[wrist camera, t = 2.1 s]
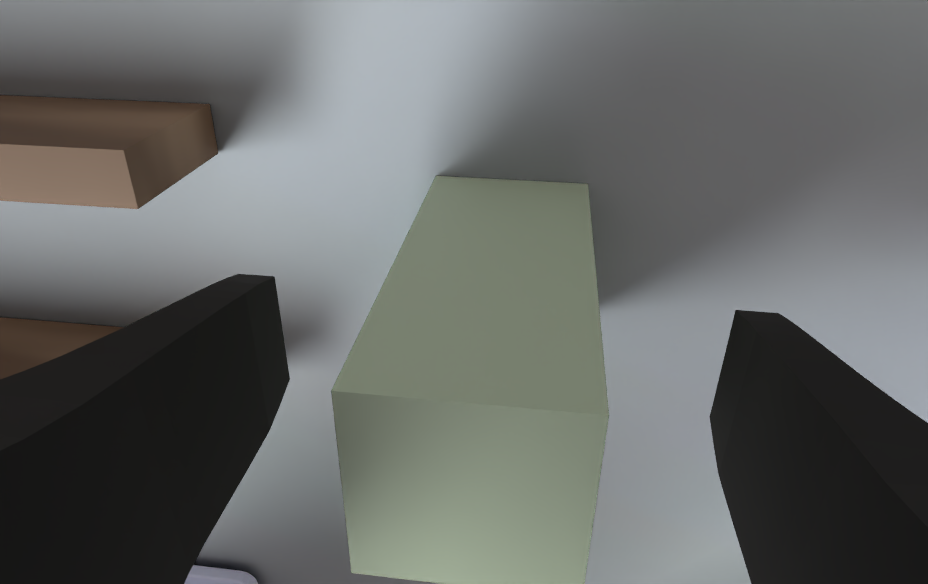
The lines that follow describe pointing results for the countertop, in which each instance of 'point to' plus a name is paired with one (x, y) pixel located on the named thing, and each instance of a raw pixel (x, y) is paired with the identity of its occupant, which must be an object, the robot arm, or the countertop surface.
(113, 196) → the comb rack
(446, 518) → the sage block
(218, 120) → the countertop surface
